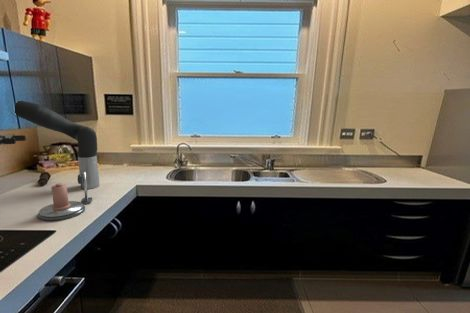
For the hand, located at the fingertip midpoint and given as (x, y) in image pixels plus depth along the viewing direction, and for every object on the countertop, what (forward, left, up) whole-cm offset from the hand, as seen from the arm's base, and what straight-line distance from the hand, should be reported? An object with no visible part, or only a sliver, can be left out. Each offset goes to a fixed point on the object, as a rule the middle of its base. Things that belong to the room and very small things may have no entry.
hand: (20, 139), depth 110 cm
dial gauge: (-10, +19, -32) cm, 38 cm away
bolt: (-49, -12, -32) cm, 60 cm away
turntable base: (+1, +12, -32) cm, 34 cm away
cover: (+1, +12, -30) cm, 32 cm away
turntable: (+1, +12, -31) cm, 33 cm away
